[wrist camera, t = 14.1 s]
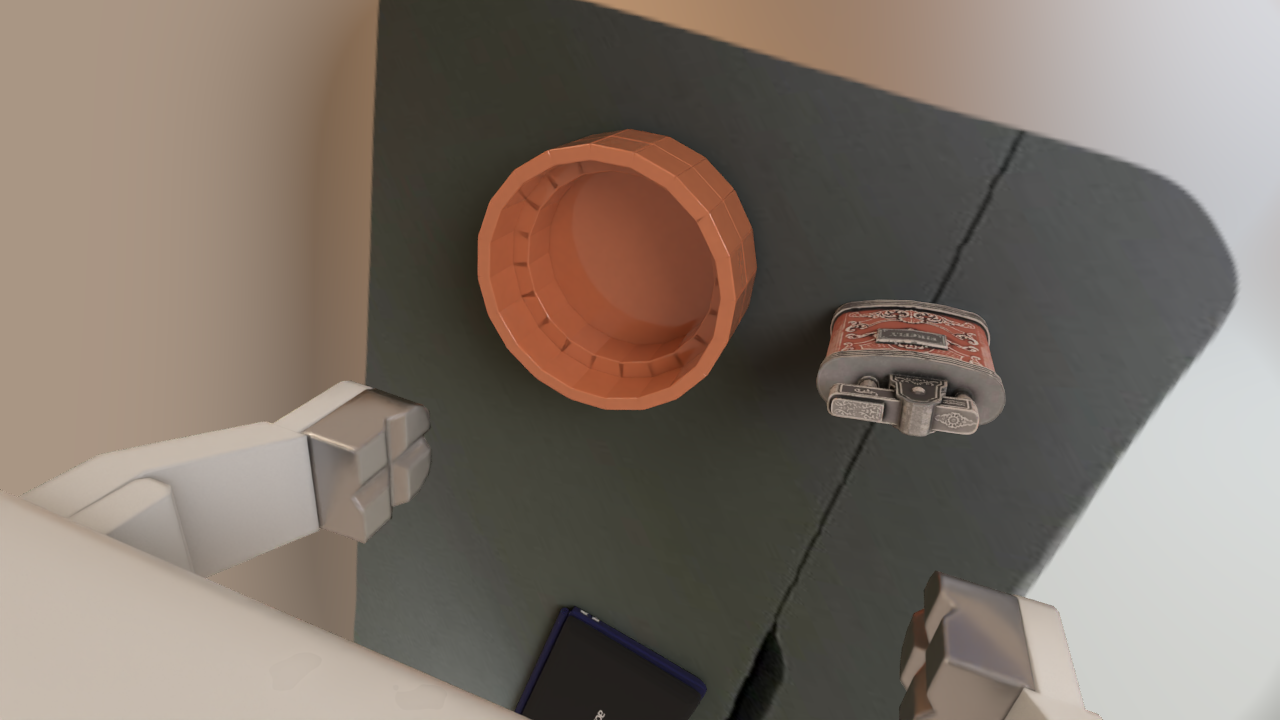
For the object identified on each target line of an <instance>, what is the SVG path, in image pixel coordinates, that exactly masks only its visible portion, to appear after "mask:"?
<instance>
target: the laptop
mask: <svg viewBox="0 0 1280 720" xmlns="http://www.w3.org/2000/svg"><path fill="white" fill-rule="evenodd" d="M706 690H707V688H706V685H705V684H704V683H703V682H702V681H701V680H700V679H699V678H697V677H696V676H694V675H692V674H691V673H689V672H687V671H685V670H684V669H682V668H680V667H679V666H677V665H675V664H674V663H672V662H670V661H668V660H667V659H665V658H663V657H662V656H660V655H658V654H656V653H655V652H653V651H651V650H650V649H648V648H646V647H644V646H643V645H641V644H639V643H638V642H636V641H634V640H633V639H631V638H629V637H627V636H626V635H624V634H622V633H621V632H619V631H617V630H615V629H614V628H612V627H610V626H608V625H607V624H605V623H603V622H602V621H600V620H599V619H597V618H595V617H593V616H591V615H590V614H588V613H586V612H585V611H583V610H581V609H579V608H578V607H574V608H573V609H572V611H571V612H570V611H569V609H568V608H562V609H561V611H560V613H559V616H558V618H557V620H556V622H555V624H554V626H553V628H552V631H551V633H550V635H549V637H548V639H547V642H546V644H545V646H544V648H543V650H542V653H541V655H540V657H539V659H538V661H537V663H536V666H535V668H534V670H533V672H532V674H531V677H530V679H529V681H528V683H527V685H526V687H525V690H524V692H523V694H522V696H521V698H520V701H519V703H518V705H517V707H516V709H515V712H516V713H518V714H520V715H523V716H525V717H527V718H530V719H532V720H688V719H689V717H690V716H691V715H692V713H693V712H694V710H695V709H696V707H697V706H698V704H699V703H700V701H701V699H702V698H703V697H704V695H705V693H706Z"/></svg>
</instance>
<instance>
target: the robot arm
mask: <svg viewBox="0 0 1280 720" xmlns="http://www.w3.org/2000/svg"><path fill="white" fill-rule="evenodd" d="M430 428H431V425H430V412H429V410H428V409H427V408H426V407H425V406H423V405H421V404H418V403H416V402H413V401H410V400H407V399H404V398H401V397H398V396H396V395H393V394H390V393H387V392H384V391H381V390H378V389H373V388H371V387H369V386H366V385H363V384H360V383H357V382H354V381H341V382H339V383H338V384H336V385H334V386H333V387H331V388H329V389H328V390H326V391H325V392H323V393H321V394H320V395H318V396H316V397H315V398H313V399H312V400H310V401H308V402H307V403H305V404H303V405H302V406H300V407H299V408H297V409H295V410H294V411H292V412H290V413H289V414H287V415H286V416H284V417H282V418H281V419H279V420H278V421H276V422H274V423H273V424H272V423H269V422H266V421H262V422H258V423H253V424H248V425H243V426H238V427H233V428H228V429H223V430H218V431H213V432H208V433H203V434H198V435H193V436H188V437H183V438H178V439H173V440H168V441H163V442H158V443H153V444H148V445H143V446H138V447H133V448H128V449H123V450H118V451H113V452H108V453H103V454H98V455H97V456H95V457H93V458H91V459H89V460H87V461H85V462H83V463H81V464H80V465H78V466H76V467H74V468H72V469H70V470H68V471H66V472H65V473H62V474H60V475H59V476H57V477H55V478H53V479H51V480H49V481H47V482H45V483H43V484H41V485H40V486H38V487H36V488H34V489H32V490H30V491H28V492H26V493H24V494H23V495H20V496H19V497H17V496H15V495H12V494H10V493H7V492H5V491H3V490H1V489H0V720H532V719H530V718H527V717H525V716H523V715H520V714H518V713H516V712H513V711H511V710H509V709H506V708H504V707H502V706H500V705H497V704H495V703H493V702H490V701H488V700H486V699H483V698H481V697H479V696H476V695H474V694H472V693H470V692H467V691H465V690H463V689H460V688H458V687H456V686H453V685H451V684H449V683H446V682H444V681H442V680H440V679H437V678H435V677H433V676H430V675H428V674H426V673H423V672H421V671H419V670H416V669H414V668H412V667H410V666H407V665H405V664H403V663H400V662H398V661H396V660H393V659H391V658H389V657H386V656H384V655H382V654H380V653H377V652H375V651H373V650H370V649H368V648H366V647H363V646H361V645H359V644H356V643H354V642H352V641H349V640H347V639H345V638H343V637H340V636H338V635H336V634H333V633H331V632H329V631H326V630H324V629H322V628H320V627H317V626H315V625H313V624H310V623H308V622H306V621H303V620H301V619H299V618H296V617H294V616H292V615H289V614H287V613H285V612H283V611H280V610H278V609H276V608H273V607H271V606H269V605H266V604H264V603H262V602H259V601H257V600H255V599H253V598H250V597H248V596H246V595H243V594H241V593H238V592H236V591H234V590H232V589H229V588H227V587H225V586H222V585H220V584H218V583H216V582H213V581H211V580H209V579H206V578H207V577H209V576H212V575H214V574H217V573H219V572H221V571H224V570H226V569H229V568H231V567H233V566H236V565H238V564H240V563H243V562H245V561H248V560H250V559H252V558H255V557H257V556H260V555H262V554H264V553H267V552H269V551H271V550H274V549H276V548H279V547H281V546H283V545H286V544H288V543H291V542H293V541H295V540H298V539H300V538H303V537H305V536H307V535H310V534H312V533H314V532H317V531H319V528H322V529H325V530H328V531H331V532H333V533H336V534H339V535H342V536H345V537H348V538H351V539H353V540H356V541H359V542H362V543H364V544H365V543H366V542H367V541H368V540H369V539H370V538H371V537H372V536H373V535H374V534H375V533H377V532H378V531H379V530H380V529H381V528H382V527H383V526H384V525H385V524H386V523H387V522H388V521H389V520H390V519H391V518H392V510H393V506H396V505H400V504H403V503H406V502H409V501H410V500H411V499H412V498H413V497H414V496H415V495H416V494H417V493H418V492H419V491H420V490H421V488H422V486H423V485H424V483H425V481H426V479H427V477H428V475H429V471H430V467H431V462H432V454H431V448H430V446H429V445H428V443H427V441H426V440H425V438H424V435H425V433H426V432H427V431H428V430H429V429H430ZM900 681H901V683H902V684H903V686H904V687H905V689H906V690H907V692H906V694H905V696H904V698H903V701H902V703H901V705H900V707H899V720H1103V719H1102V718H1101V717H1100V716H1099V715H1098V714H1096V713H1093V712H1091V711H1088V710H1085V706H1084V703H1083V699H1082V695H1081V691H1080V688H1079V684H1078V681H1077V677H1076V673H1075V669H1074V666H1073V662H1072V658H1071V654H1070V651H1069V647H1068V644H1067V640H1066V636H1065V633H1064V629H1063V625H1062V622H1061V618H1060V614H1059V612H1058V611H1057V609H1056V608H1055V607H1054V606H1051V605H1048V604H1045V603H1041V602H1038V601H1035V600H1031V599H1028V598H1025V597H1021V596H1018V595H1015V594H1013V595H1011V594H1008V593H1005V592H1002V591H998V590H995V589H992V588H989V587H986V586H983V585H980V584H976V583H973V582H970V581H967V580H964V579H961V578H957V577H954V576H951V575H948V574H945V573H942V572H939V571H935V572H934V573H933V574H932V576H931V577H930V579H929V581H928V583H927V585H926V587H925V589H924V609H922V610H920V611H918V612H916V613H914V614H913V616H912V619H911V621H910V624H909V626H908V629H907V631H906V635H905V639H904V643H903V647H902V652H901V660H900Z"/></svg>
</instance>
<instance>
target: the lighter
mask: <svg viewBox="0 0 1280 720" xmlns="http://www.w3.org/2000/svg"><path fill="white" fill-rule="evenodd" d="M830 333H831V339H830V343H829V347H828V351H827V355H826V358H825V359H824V361H823V362H822V363H821V365H820V368H819V372H818V376H817V389H818V391H819V393H820V396H821V397H822V398H823V399H824V400H825V401H826V402H827V410H828V412H829V413H830V414H832V415H834V416H837V417H844V418H851V419H858V420H865V421H873V422H880V423H887V424H891V425H892V426H893V427H895V428H897V429H898V430H899V431H901V432H902V433H904V434H907V435H912V436H919V437H920V436H926V435H928V434H930V433H934V432H935V431H943V432H950V433H957V434H972V433H974V432H975V431H976V430H977V428H978V425H983V424H987V423H988V422H990V421H992V420H994V419H995V418H996V417H997V416H998V415H999V414H1000V413H1001V411H1002V409H1003V407H1004V405H1005V391H1004V387H1003V384H1002V382H1001V379H1000V377H999V376H998V375H997V374H996V373H995V370H994V366H993V362H992V358H991V354H990V350H989V345H990V334H989V330H988V327H987V325H986V322H985V321H984V320H983V319H982V318H981V317H980V316H978V315H976V314H974V313H971V312H967V311H963V310H960V309H956V308H952V307H948V306H944V305H938V304H931V303H925V302H918V301H911V300H871V301H859V302H850V303H846V304H843V305H842V306H841V307H839V308H838V309H837V311H836V312H835V313H834V315H833V319H832V322H831V326H830Z"/></svg>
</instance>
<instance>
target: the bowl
mask: <svg viewBox="0 0 1280 720" xmlns="http://www.w3.org/2000/svg"><path fill="white" fill-rule="evenodd" d="M756 269H757V265H756V256H755V247H754V239H753V230H752V227H751V224H750V222H749V220H748V218H747V216H746V214H745V211H744V209H743V207H742V205H741V203H740V200H739V198H738V196H737V194H736V192H735V190H734V189H733V187H732V186H731V185H730V184H729V183H728V182H727V181H726V180H725V179H724V177H723V176H722V175H721V174H720V173H719V172H718V171H717V170H716V169H715V168H714V166H713V165H712V164H711V163H710V162H709V161H708V160H707V159H706V158H705V157H704V156H702V155H700V154H699V153H697V152H695V151H693V150H692V149H690V148H688V147H686V146H685V145H683V144H681V143H679V142H678V141H676V140H674V139H672V138H671V137H668V136H664V135H658V134H653V133H648V132H643V131H637V130H632V129H626V130H619V131H613V132H607V133H601V134H595V135H591V136H588V137H585V138H582V139H579V140H576V141H573V142H570V143H567V144H564V145H561V146H558V147H556V148H553V149H550V150H547V151H545V152H544V153H542V154H540V155H539V156H537V157H535V158H533V159H532V160H530V161H528V162H527V163H525V164H523V165H522V166H520V167H518V168H516V169H515V170H514V171H513V172H512V173H511V174H510V176H509V177H508V178H507V180H506V181H505V182H504V183H503V185H502V186H501V187H500V189H499V190H498V191H497V192H496V194H495V195H494V196H493V197H492V199H491V201H490V202H489V205H488V208H487V211H486V214H485V217H484V220H483V223H482V226H481V229H480V232H479V235H478V281H479V284H480V288H481V292H482V295H483V299H484V302H485V306H486V310H487V313H488V315H489V318H490V319H491V321H492V323H493V325H494V326H495V328H496V330H497V332H498V333H499V335H500V337H501V338H502V340H503V342H504V344H505V345H506V347H507V349H509V351H510V352H511V353H512V354H513V355H514V356H515V357H516V358H517V359H518V360H519V361H520V362H521V363H522V364H523V365H524V367H525V368H526V369H527V370H528V371H529V372H530V373H531V374H532V375H533V376H534V377H535V378H536V377H537V379H538V380H540V381H541V382H543V383H544V384H546V385H548V386H549V387H551V388H552V389H554V390H556V391H557V392H559V393H561V394H562V395H564V396H565V397H567V398H569V399H571V400H575V401H578V402H581V403H585V404H588V405H591V406H595V407H598V408H601V409H606V410H645V409H648V408H651V407H654V406H657V405H660V404H663V403H666V402H670V401H673V400H676V399H678V398H679V397H681V396H682V395H683V394H684V393H686V392H687V391H688V390H690V389H691V388H692V387H693V386H695V385H696V384H697V383H699V382H700V381H701V380H703V379H704V378H705V377H706V376H707V375H708V374H709V372H710V371H711V369H712V368H713V366H714V364H715V363H716V361H717V359H718V358H719V356H720V355H721V353H722V351H723V350H724V348H725V346H726V345H727V343H728V341H729V340H730V338H731V336H732V334H733V333H734V331H735V329H736V327H737V326H738V324H739V322H740V321H741V319H742V317H743V315H744V314H745V312H746V310H747V308H748V306H749V303H750V298H751V294H752V289H753V284H754V280H755V275H756Z"/></svg>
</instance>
